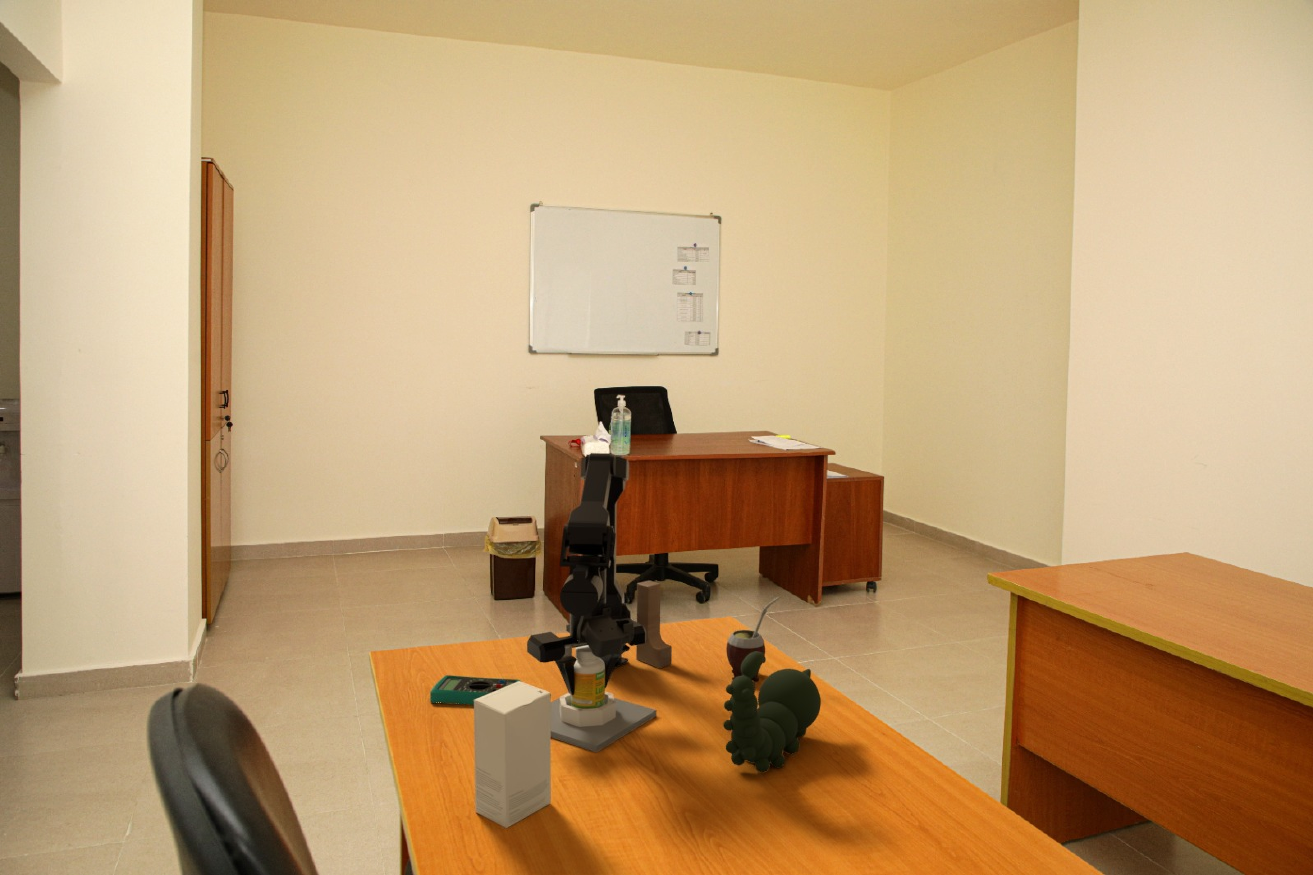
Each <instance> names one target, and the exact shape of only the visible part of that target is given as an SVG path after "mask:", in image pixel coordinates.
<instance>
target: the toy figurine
mask: <svg viewBox="0 0 1313 875" xmlns="http://www.w3.org/2000/svg"><path fill="white" fill-rule="evenodd" d="M766 661H767V660H766V655H765V656H764V654H763V653H761V652H758V651H755V652H752V653H750V654H749V655H747V656H746V657H745V659H744V660H743V662H742V664H741V673H742V676H738V677H736V678H735V679H733V680H732V681H731V683H730V684H728V685H727V686H726V687H725V692H726V693H727V694H729V695H731V696H730V698H729V699H728V700H725V701H724V703H723V709H725V710H726V711H727V712H731V714H730V716H729V719H726V720H725V721H723V728H724V730H726V731H728V732H729V731H731V733H730V738H731V740H728V741H727V742H726V744H725V750H726V752H728V754H731V756H730V760H731V763H732V764H734V765H736V766H737V767H738V766H743V764H745V762H746V761H747V762H748V763H751V764H754V767H755V769H756V771H757V772H758V773H766V772H768V771H769V769H770V767H771V766H772V767H774V768H777V769H780V768H783V767H784V765H785V762H786V758H785V756H784V754H783V753H784V752H785V753H786V754H787V755H794V754H796V753H797V752H798V751H799V748H800V746H801V744H800V741H799V739H800V738H802V737H804V736H805V734H806V733H807V731H808V730H807V729H808V728H809V727H811V726H812V725H813V724H814V722H815V721H816V720H817V718H818V716H819V714H820V711H821V705H822V698H821V693H820V691H819V689H818V687H817V684H816V683H815V682H814V681H813V679H812V678H811V677H812V671H811V669H810V668H807V669H805V670H802V671H801V670H798V669H794V668H784V669H783V668H781V669H778V670H776V671H774V672H773V673H771V674H769V676H767V677H766V678H765V679H764V681H763V683H762V684H761V686H760V688H759V691H758V697H757V696H756V685H755V682H754V681H752V679H751V678H753V677H754V676H756V674H757V673H758V671H759V672H760V669H761V667H762V665H763V664H765V663H766ZM758 674H759V673H758Z"/></svg>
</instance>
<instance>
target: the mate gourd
mask: <svg viewBox="0 0 1313 875" xmlns="http://www.w3.org/2000/svg"><path fill="white" fill-rule="evenodd" d="M779 598H780V597H775V598H774V599H773V600H771V601H770V602H768V603H767V604H766V605H765V606H764V608H762V610H761V612H760V616H759V619H758V622H757V624H756V627H755V630H750V629H740V630H739V629H738V630H735V631H733V632H732V633H731V634H730V635H729V637H728V638H727V643H726V649H725V650H726V657H727V660H728V664H729V665H730V667H731V668H732V670H731V673H732V674H733V677H731V679H732V681H733V679H735V678H736V677H738V676H742V673H741V664H742V662H743V660H744V659H745V657H746V656H747V655H749V654H750V653H752V652H755V651H758V652H761V653H763V654H764V656H765V657H766V646H765V639H764V638H763V637H762V635H761V633H759V629H760V628H761V625H762V622H763V619H764V616H765V615H766V613H767V612H768V609H769V608H770V607H771V605H773V604H774V603H775V602H776V601H778V600H779ZM759 673H760V670H759V671H758V673H757V674H756V676H754V677H753V678H751V679H752V681H753V682H754V683H759V682H760V678H758V675H759Z"/></svg>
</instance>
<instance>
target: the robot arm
mask: <svg viewBox="0 0 1313 875" xmlns="http://www.w3.org/2000/svg"><path fill="white" fill-rule="evenodd" d="M579 476H580V479H581V480H582V481H584V483H583V485H582V486H583V487H582V492H581V497H580V502H579V506H577V507H576V508H574V509H573V510H571V511H570V512H569V516H568V520H567V524H564V525H563V529H562V535H561V537H562V538H561V547H560V554H559V555H560V557H559V567H566V568H568V567H569V572H568V577H567V578H566V580H565V582H564V584H563V586H562V587H561V590H560V593H559V601H560V604H561V607H562V608H563V610H565V611H566V612H567V613H568V614H569V624H566V627H565V628H566V632H567V633H569V635H567V636H566V635H565V636H561V637H559V636H558V635H556V634H555V633H554V632H552V631H547V632H541V633H536V634H531V635H530V637H529V638H528V640H527V641H526V652H527V653H528V654H529V655H530V656H531V657H533V658H534V659H535V660H537V661H538V662H540V663H543V664H544V663H550V662H555V664H556V666H557V668H558V670H559V672H560V675H561V677H562V680H563V683H564V685H565V687H566V689H567V693H569V694H570V695H574V690H575V680H574V664H575V662H576V660H577V658H576V656H574V655H573V649H576V647H580V646H586V645H588V646H589V647H590V649H591V650H592V653H593V654H594V655H595V656H596V657H600V659H601V660H603V662H604V664H605V689H607V686H608V684H609V681H610V678H611V676H612V673H613V670H615V669H617V668H618V667H620V666H622V665H625V664H627V663H628V662H629V658H626V657H622V655H623V654H624V653H626V652H629V651H630V650H631V647H633V646H636V645H639V644H644V643H646V630H645V628H644V627H643V625H641V624H639V623H637V620H634V619H632V614H631V611H630V609H629V606H628V603H625V592H624V589H623V588H622V587H621V585H620V583H619V582H618V580H617V527H618V526H617V524H618V523H617V518H618V517H617V513H618V510H617V509H618V500H620V497H621V495H622V494H623V492H624V490H625V489H626V482H628V481H629V479H630V461H629V460H628V459H627V458H624V457H623V455H615V454H613V453H610V452H609V453H607V452H605V453H600V452H591V453H589V454H586V455H585V456H583V457H581V458H580V475H579ZM567 554H569V555H567ZM627 644H628V645H629V646H628V645H627Z"/></svg>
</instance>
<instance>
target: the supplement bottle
mask: <svg viewBox="0 0 1313 875" xmlns="http://www.w3.org/2000/svg"><path fill="white" fill-rule="evenodd" d="M574 651H575V652H574V653H575V658H576V659H577V660H576V662H575V664H574V680H575V690H574V695H571V706H572V707H575V708H579V709H592V708H600V707H602V706H604V704H605V692H606V688H605V664H604V662H603V660H601V659H600V657H596V656H595V655H594V654H593V653H592V650H591V649H590V647H589V646H588V645H586V646H580V647H575V650H574Z"/></svg>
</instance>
